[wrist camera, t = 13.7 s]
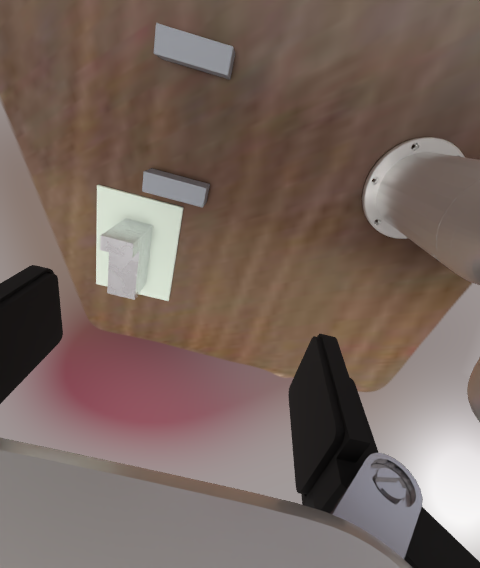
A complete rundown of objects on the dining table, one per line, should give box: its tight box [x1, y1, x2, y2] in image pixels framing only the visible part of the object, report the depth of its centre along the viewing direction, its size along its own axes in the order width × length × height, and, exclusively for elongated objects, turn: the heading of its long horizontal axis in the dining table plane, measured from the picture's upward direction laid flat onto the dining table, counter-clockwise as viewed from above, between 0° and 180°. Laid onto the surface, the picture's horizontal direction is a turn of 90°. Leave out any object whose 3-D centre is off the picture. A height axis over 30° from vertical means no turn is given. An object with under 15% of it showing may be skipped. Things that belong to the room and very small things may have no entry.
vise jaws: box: [142, 23, 235, 207], centre depth 35 cm, size 8×17×3 cm, turn 166°
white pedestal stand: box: [100, 218, 153, 300], centre depth 41 cm, size 4×10×8 cm, turn 165°
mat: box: [96, 185, 184, 301], centre depth 44 cm, size 12×16×1 cm
